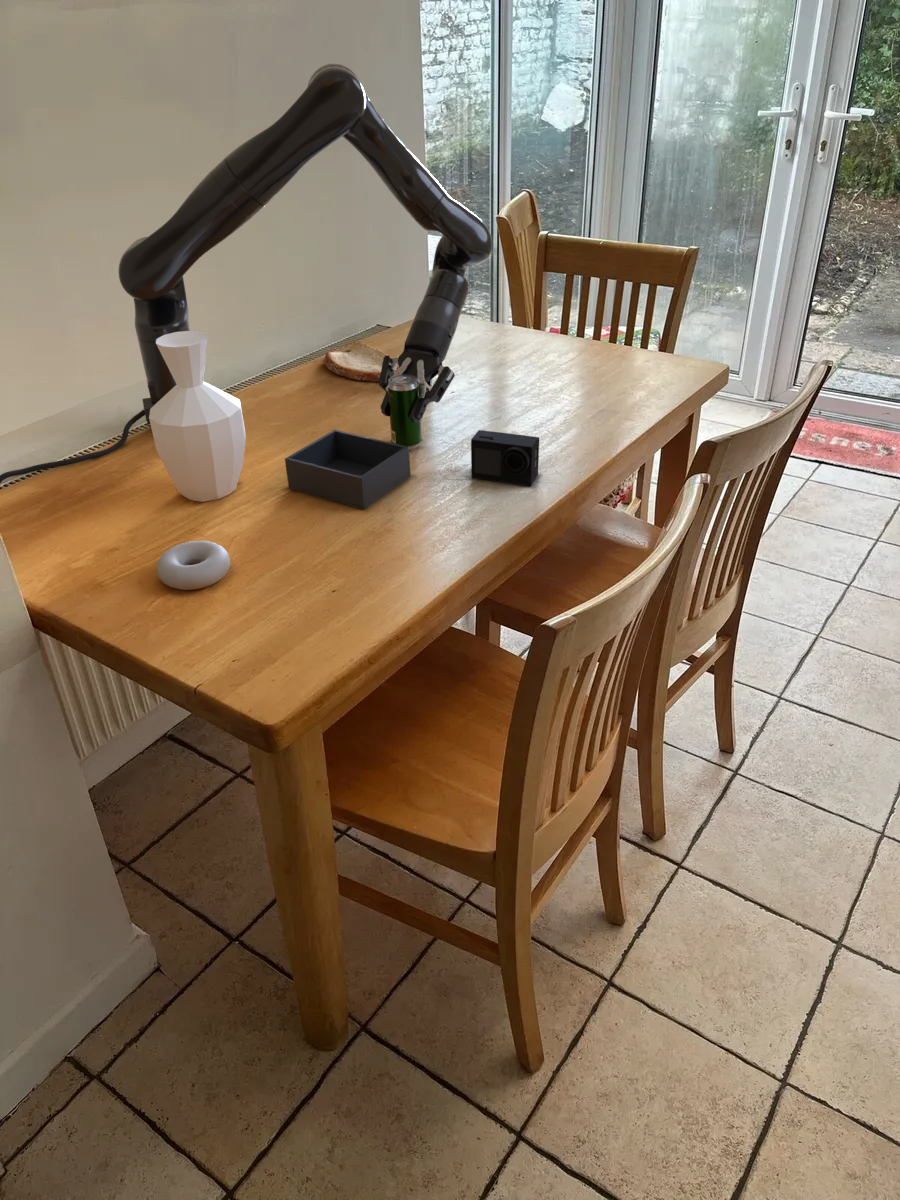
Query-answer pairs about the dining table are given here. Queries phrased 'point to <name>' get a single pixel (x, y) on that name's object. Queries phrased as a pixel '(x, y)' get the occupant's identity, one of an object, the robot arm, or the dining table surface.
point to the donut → (193, 565)
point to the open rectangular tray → (348, 468)
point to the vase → (197, 423)
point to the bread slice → (357, 362)
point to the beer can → (403, 410)
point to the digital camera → (504, 457)
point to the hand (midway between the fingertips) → (399, 417)
